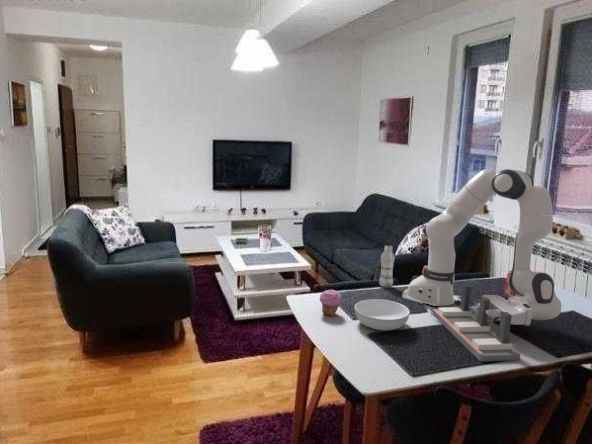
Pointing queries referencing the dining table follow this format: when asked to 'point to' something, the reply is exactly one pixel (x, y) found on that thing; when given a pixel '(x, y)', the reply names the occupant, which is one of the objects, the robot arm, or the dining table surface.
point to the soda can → (508, 290)
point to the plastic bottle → (387, 267)
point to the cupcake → (330, 302)
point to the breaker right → (504, 328)
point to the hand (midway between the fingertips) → (482, 308)
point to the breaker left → (465, 298)
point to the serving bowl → (381, 314)
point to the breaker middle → (483, 311)
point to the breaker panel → (475, 335)
